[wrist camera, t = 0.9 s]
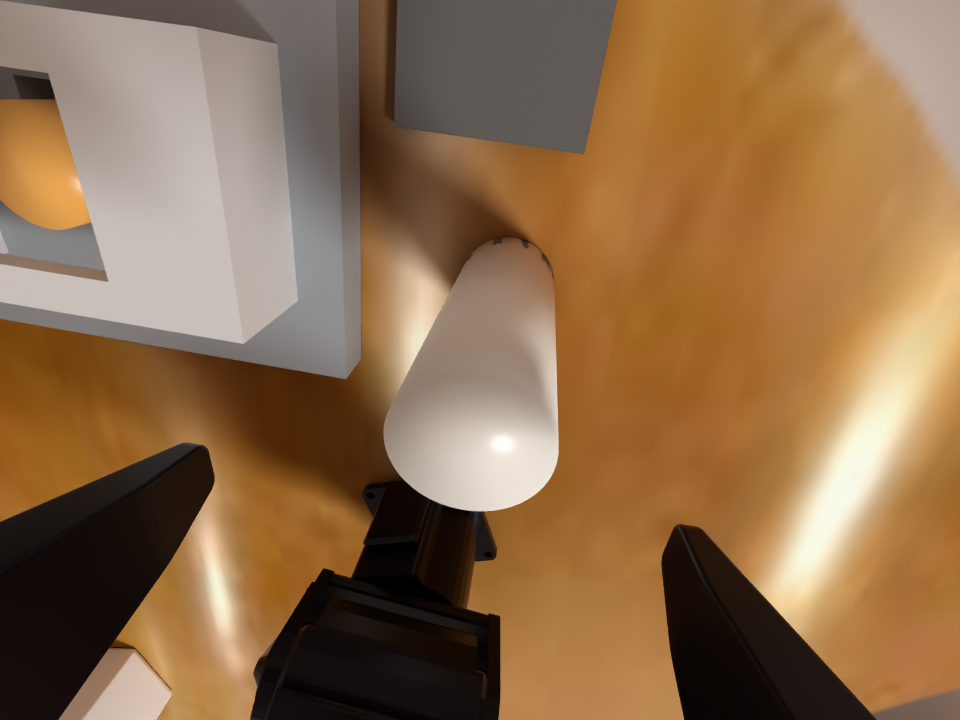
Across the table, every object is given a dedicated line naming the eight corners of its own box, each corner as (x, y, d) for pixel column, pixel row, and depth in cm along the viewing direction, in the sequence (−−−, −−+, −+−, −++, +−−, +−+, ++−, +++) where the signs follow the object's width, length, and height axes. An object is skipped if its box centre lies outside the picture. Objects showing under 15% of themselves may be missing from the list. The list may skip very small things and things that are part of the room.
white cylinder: (561, 316, 21) (572, 503, 11) (474, 333, 22) (415, 518, 12) (543, 226, 19) (538, 356, 9) (450, 249, 20) (357, 387, 10)
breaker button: (156, 221, 18) (104, 238, 16) (61, 206, 19) (-2, 220, 17) (131, 107, 16) (67, 108, 14) (25, 92, 17) (-53, 91, 15)
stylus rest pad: (583, 152, 17) (584, 153, 17) (398, 125, 18) (393, 126, 17) (636, -104, 14) (640, -111, 13) (406, -130, 14) (400, -139, 14)
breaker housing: (361, 358, 23) (306, 433, 18) (1, 296, 24) (-151, 350, 19) (358, -72, 15) (257, -163, 10) (-180, -137, 16) (-529, -251, 11)
